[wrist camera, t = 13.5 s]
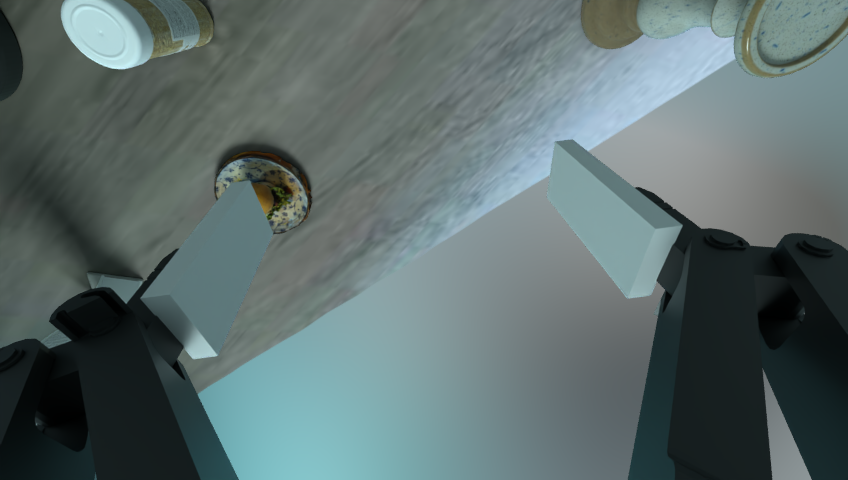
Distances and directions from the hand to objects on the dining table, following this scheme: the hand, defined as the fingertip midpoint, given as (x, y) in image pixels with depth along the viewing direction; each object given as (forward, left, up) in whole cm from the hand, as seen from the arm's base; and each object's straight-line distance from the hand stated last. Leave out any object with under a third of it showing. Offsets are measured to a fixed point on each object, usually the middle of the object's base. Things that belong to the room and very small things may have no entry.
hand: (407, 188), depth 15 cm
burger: (-10, -21, -29) cm, 37 cm away
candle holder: (+20, +16, -29) cm, 39 cm away
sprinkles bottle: (-20, -4, -29) cm, 35 cm away
